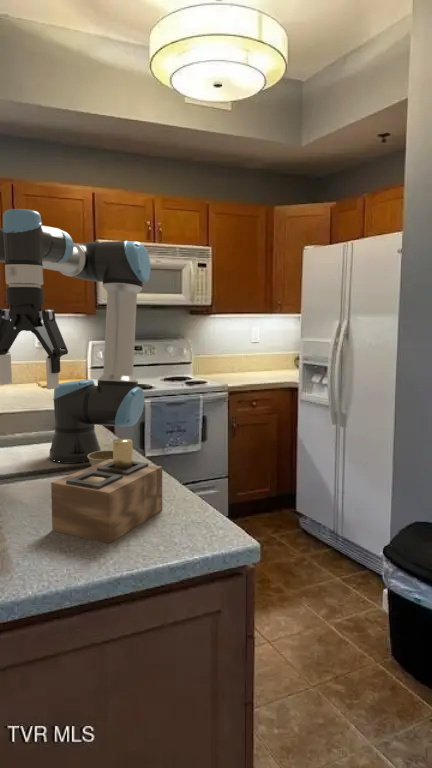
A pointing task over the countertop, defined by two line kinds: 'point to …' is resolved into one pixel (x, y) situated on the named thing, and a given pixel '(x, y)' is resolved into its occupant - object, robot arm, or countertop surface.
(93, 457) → the flower pot
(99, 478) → the socket block
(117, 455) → the peg
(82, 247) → the robot arm
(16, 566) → the countertop surface
